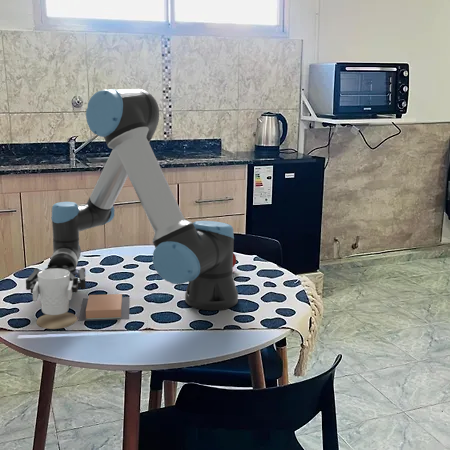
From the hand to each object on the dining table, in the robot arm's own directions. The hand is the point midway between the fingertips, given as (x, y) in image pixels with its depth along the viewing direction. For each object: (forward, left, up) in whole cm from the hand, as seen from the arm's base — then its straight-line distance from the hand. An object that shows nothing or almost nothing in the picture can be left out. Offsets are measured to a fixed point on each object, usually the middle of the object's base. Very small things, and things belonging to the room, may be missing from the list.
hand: (51, 295), depth 145 cm
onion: (-12, -64, -9) cm, 66 cm away
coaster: (+3, -4, -9) cm, 10 cm away
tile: (+1, -20, -7) cm, 21 cm away
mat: (-2, -17, -9) cm, 19 cm away
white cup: (+3, -4, -6) cm, 8 cm away
